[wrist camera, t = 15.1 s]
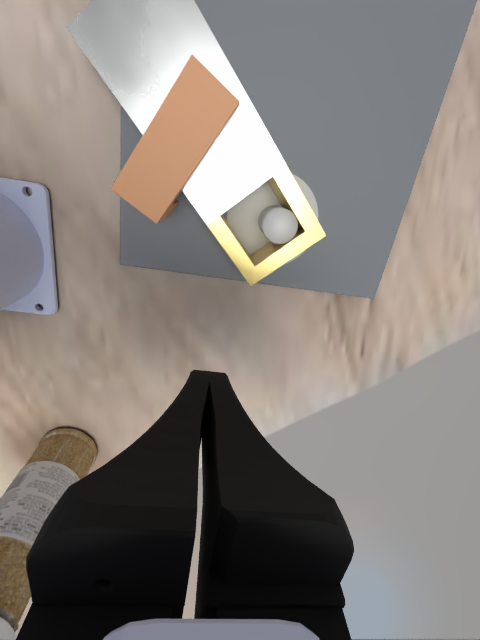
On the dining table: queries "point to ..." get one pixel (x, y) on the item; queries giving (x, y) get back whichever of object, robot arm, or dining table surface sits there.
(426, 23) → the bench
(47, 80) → the dining table surface
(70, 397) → the dining table surface
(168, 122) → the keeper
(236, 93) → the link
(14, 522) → the sprinkles bottle
